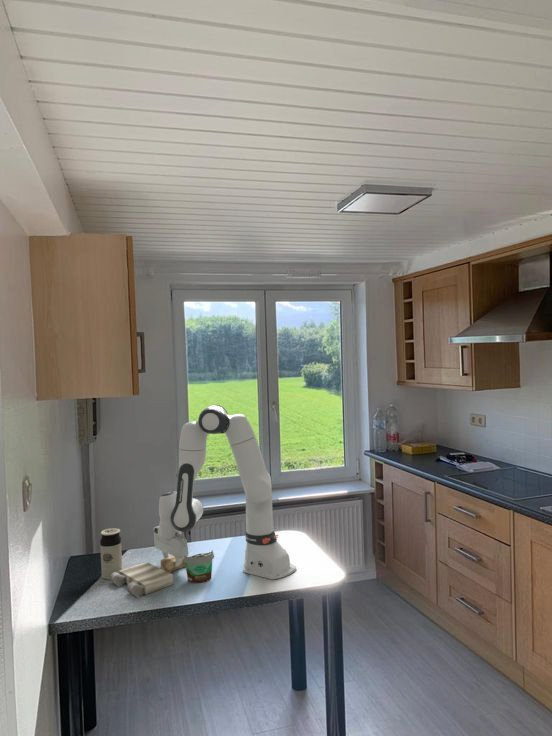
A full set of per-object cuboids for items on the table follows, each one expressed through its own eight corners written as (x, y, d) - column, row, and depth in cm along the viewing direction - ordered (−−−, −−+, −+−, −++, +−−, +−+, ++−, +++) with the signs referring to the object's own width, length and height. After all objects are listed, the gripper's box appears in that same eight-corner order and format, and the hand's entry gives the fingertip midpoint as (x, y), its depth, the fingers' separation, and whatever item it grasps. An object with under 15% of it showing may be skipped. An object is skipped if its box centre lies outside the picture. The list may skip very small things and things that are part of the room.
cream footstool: (173, 583, 196) (173, 574, 196) (135, 598, 184) (135, 588, 184) (146, 570, 210) (145, 561, 210) (109, 583, 199) (109, 573, 198)
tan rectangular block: (189, 564, 214) (188, 556, 214) (168, 572, 207) (168, 563, 207) (181, 561, 218) (180, 552, 218) (160, 568, 211) (160, 559, 211)
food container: (188, 587, 192) (188, 560, 192) (184, 581, 198) (183, 555, 198) (219, 579, 198) (218, 554, 198) (214, 574, 203) (213, 549, 203)
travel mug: (110, 570, 211) (108, 527, 211) (126, 572, 208) (124, 528, 208) (97, 578, 203) (95, 533, 203) (114, 580, 201) (112, 535, 200)
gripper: (191, 533, 206) (192, 567, 206) (163, 523, 221) (165, 555, 221) (178, 538, 202) (179, 572, 202) (151, 527, 216) (152, 559, 216)
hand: (171, 563), depth 212 cm, fingers closed on tan rectangular block, 6 cm apart
